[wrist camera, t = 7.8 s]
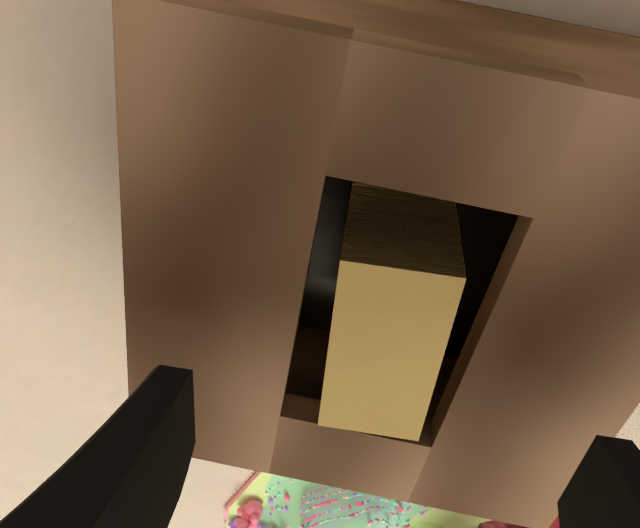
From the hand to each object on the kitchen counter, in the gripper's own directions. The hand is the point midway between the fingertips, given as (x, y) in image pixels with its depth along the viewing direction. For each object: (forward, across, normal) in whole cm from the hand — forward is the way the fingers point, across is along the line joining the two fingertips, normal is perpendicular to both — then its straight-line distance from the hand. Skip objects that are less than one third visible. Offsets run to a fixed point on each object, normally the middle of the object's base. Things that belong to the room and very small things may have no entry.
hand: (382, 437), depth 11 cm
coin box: (+8, 0, 0) cm, 8 cm away
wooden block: (+8, 0, 0) cm, 9 cm away
